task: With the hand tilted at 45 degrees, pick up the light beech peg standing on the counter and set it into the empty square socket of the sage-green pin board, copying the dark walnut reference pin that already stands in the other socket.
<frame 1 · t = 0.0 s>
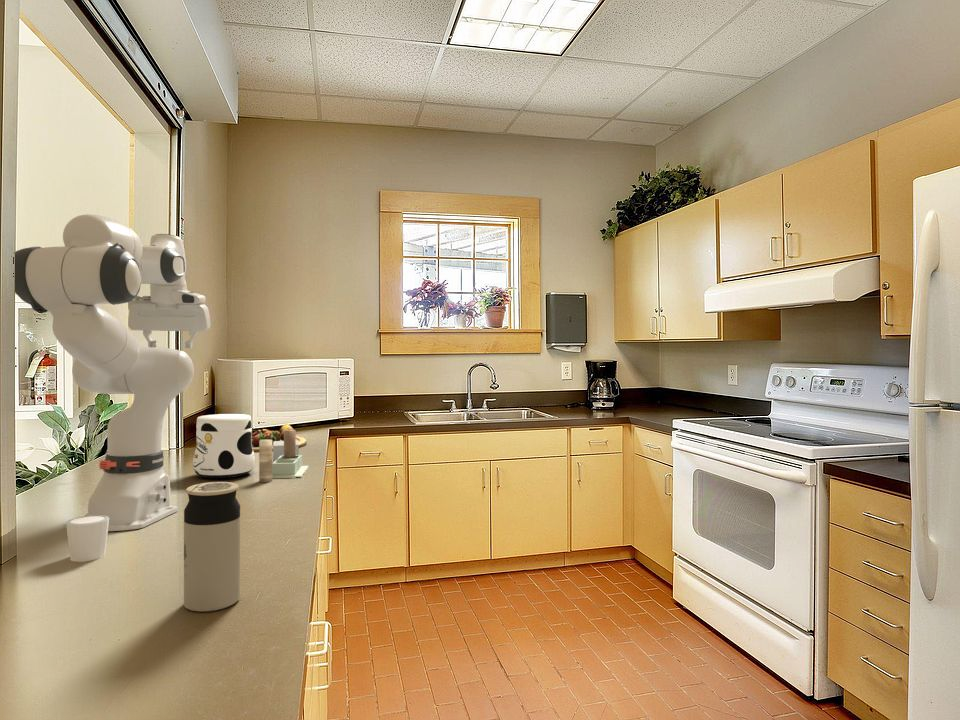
hand: (170, 347, 169), 39 cm above the countertop, tool pointing down, fingers open, 8 cm apart
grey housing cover: (285, 463, 209), on the countertop
milk container: (224, 476, 190), on the countertop
wooden plate with food: (264, 447, 247), on the countertop
pin board: (287, 472, 195), on the countertop
beech peg: (265, 481, 182), on the countertop
travel mug: (212, 603, 96), on the countertop
white cup: (87, 557, 117), on the countertop
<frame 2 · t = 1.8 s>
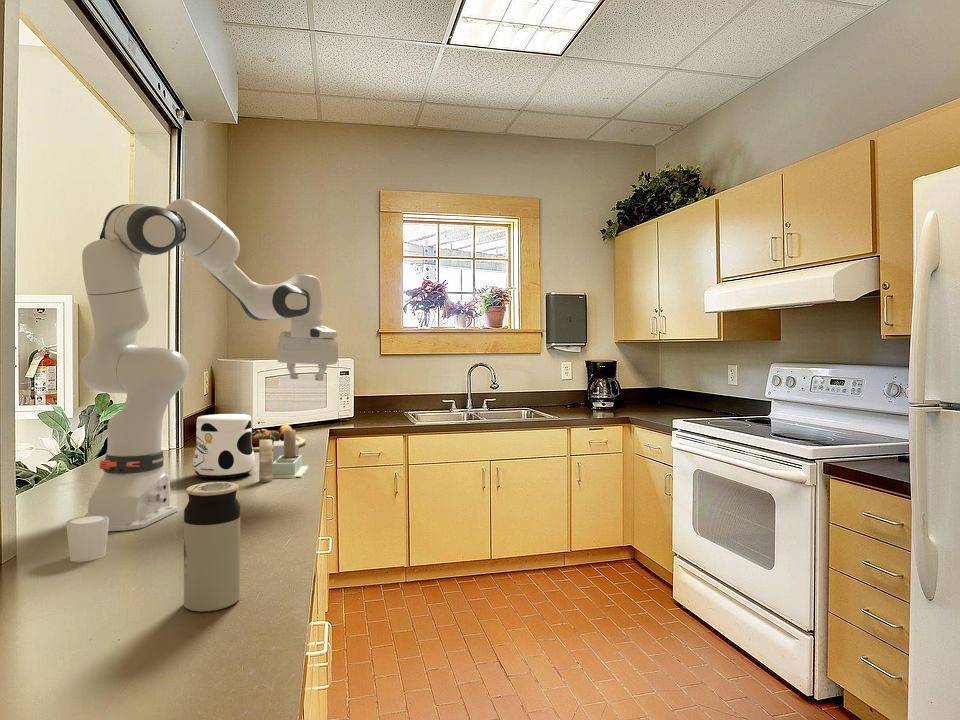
hand: (306, 379, 179), 30 cm above the countertop, tool pointing down, fingers open, 8 cm apart
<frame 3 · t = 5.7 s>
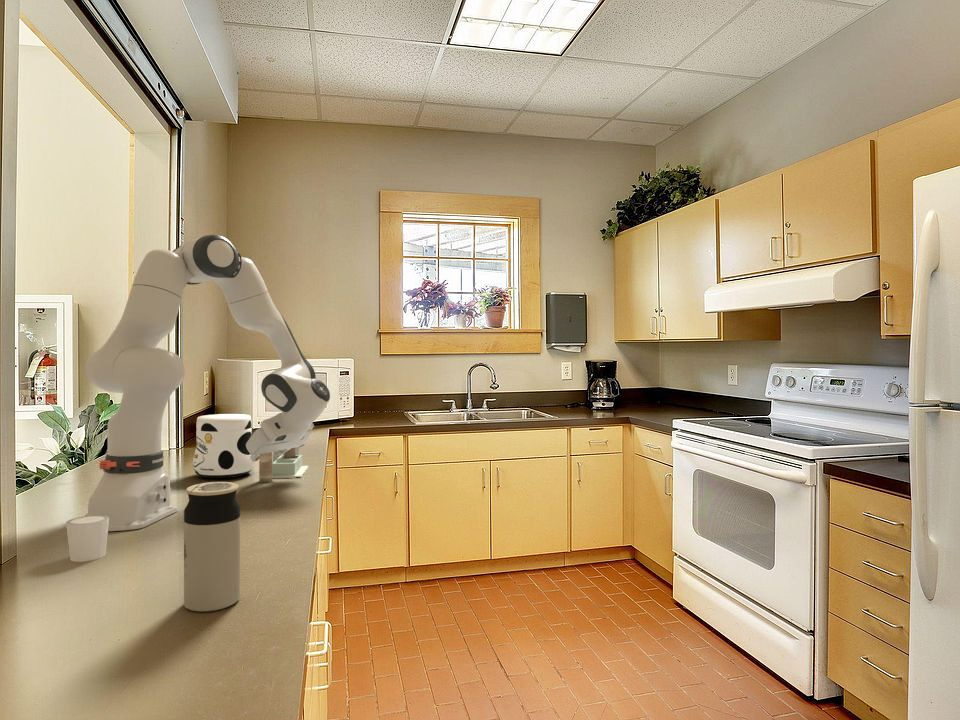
hand: (265, 457, 182), 7 cm above the countertop, tool tilted 45°, fingers open, 8 cm apart
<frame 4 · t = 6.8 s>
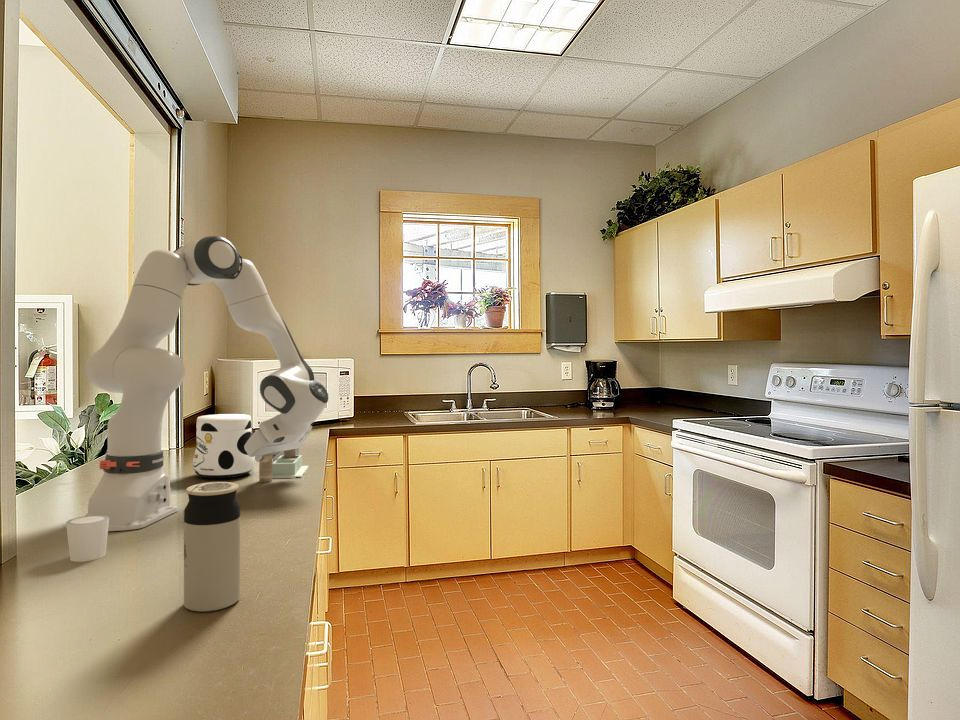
hand: (264, 458, 183), 7 cm above the countertop, tool tilted 45°, fingers closed on beech peg, 4 cm apart
beech peg: (265, 481, 182), on the countertop, touching gripper
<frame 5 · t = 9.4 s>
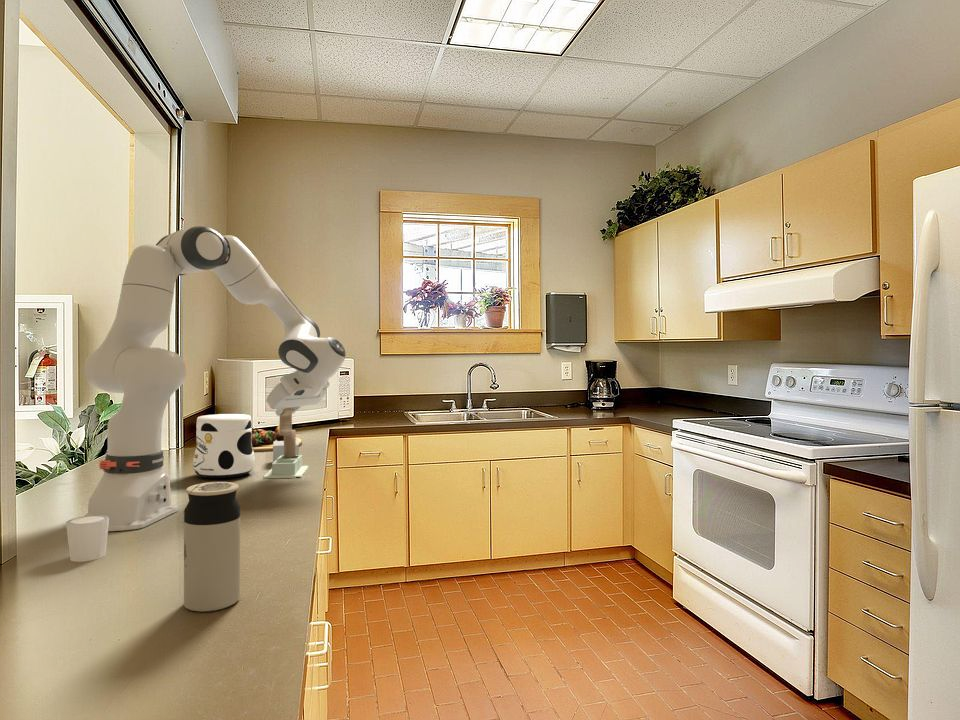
hand: (284, 413, 192), 19 cm above the countertop, tool tilted 45°, fingers closed on beech peg, 4 cm apart
beech peg: (285, 434, 192), point 12 cm above the countertop, touching gripper
when the fingers open (9 cm above the countertop, at t = 11.9 s): beech peg drops 1 cm, resting on pin board.
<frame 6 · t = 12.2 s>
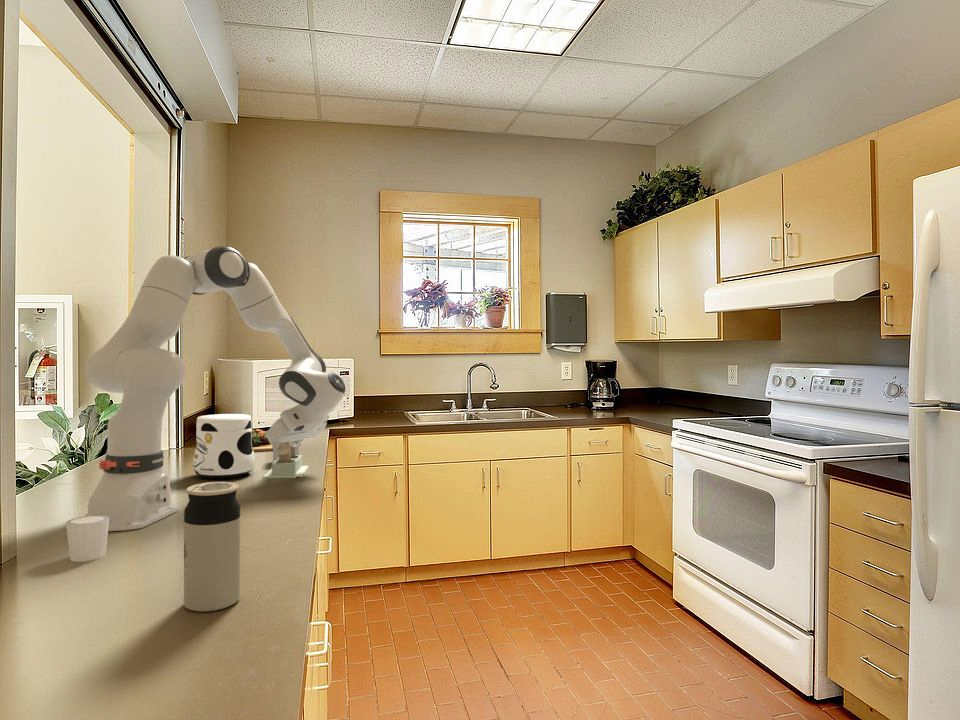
hand: (283, 446, 192), 9 cm above the countertop, tool tilted 45°, fingers open, 6 cm apart
beech peg: (285, 472, 192), point 1 cm above the countertop, touching pin board
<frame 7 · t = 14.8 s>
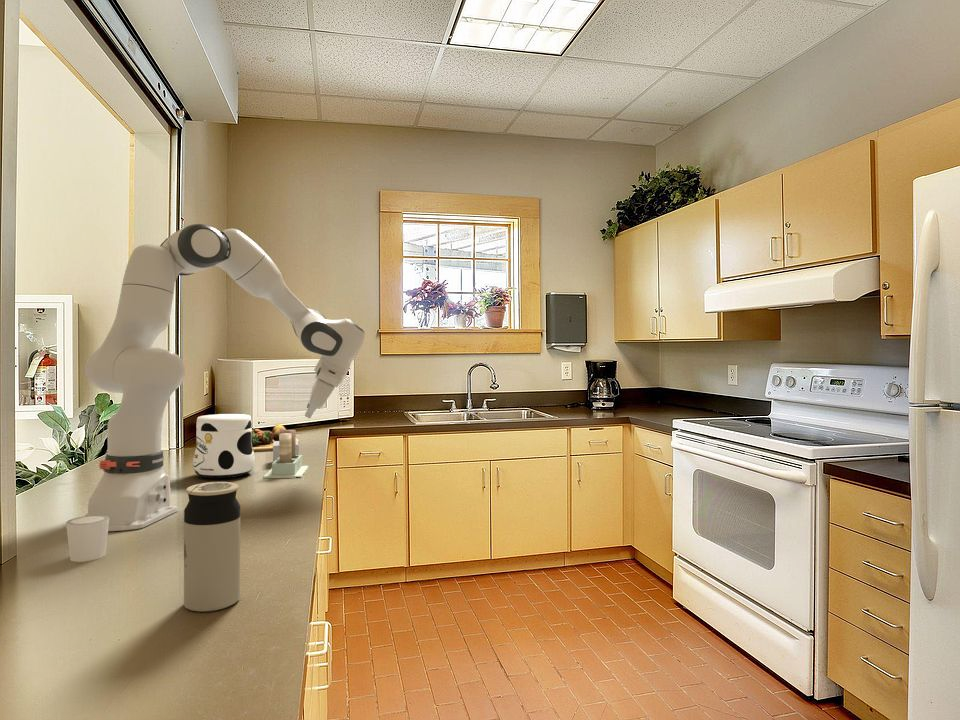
hand: (308, 412, 184), 20 cm above the countertop, tool tilted 30°, fingers open, 8 cm apart
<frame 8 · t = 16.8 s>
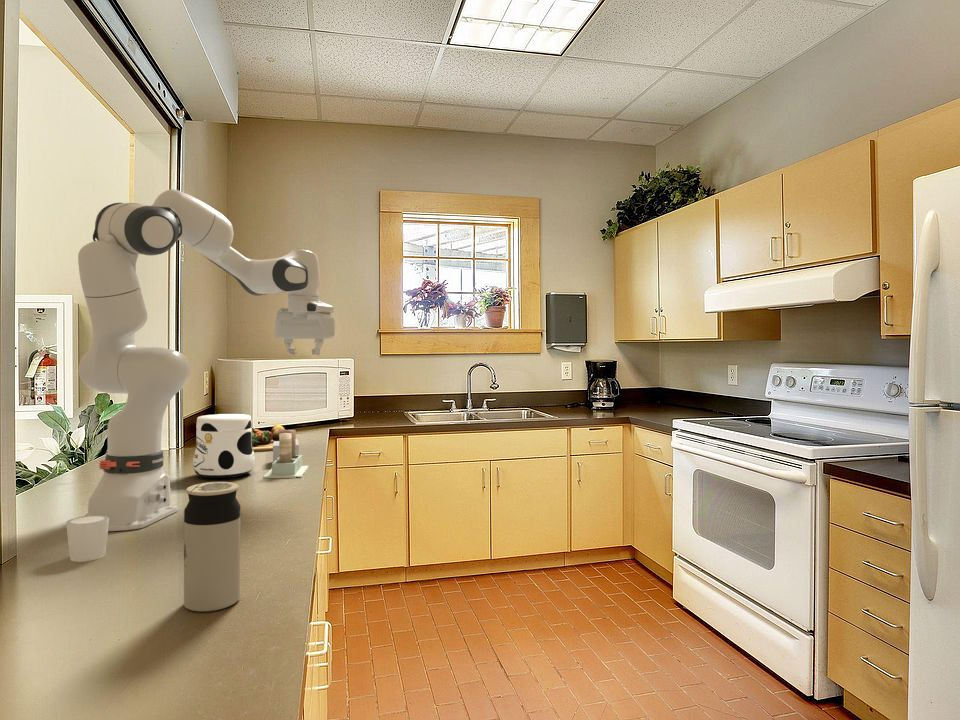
hand: (303, 354, 180), 37 cm above the countertop, tool pointing down, fingers open, 8 cm apart
at the end: beech peg 0.1 cm from the target spot on the pin board, point 0.6 cm above the pin board's base; beech peg tilted 1°; the gripper is holding nothing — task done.
